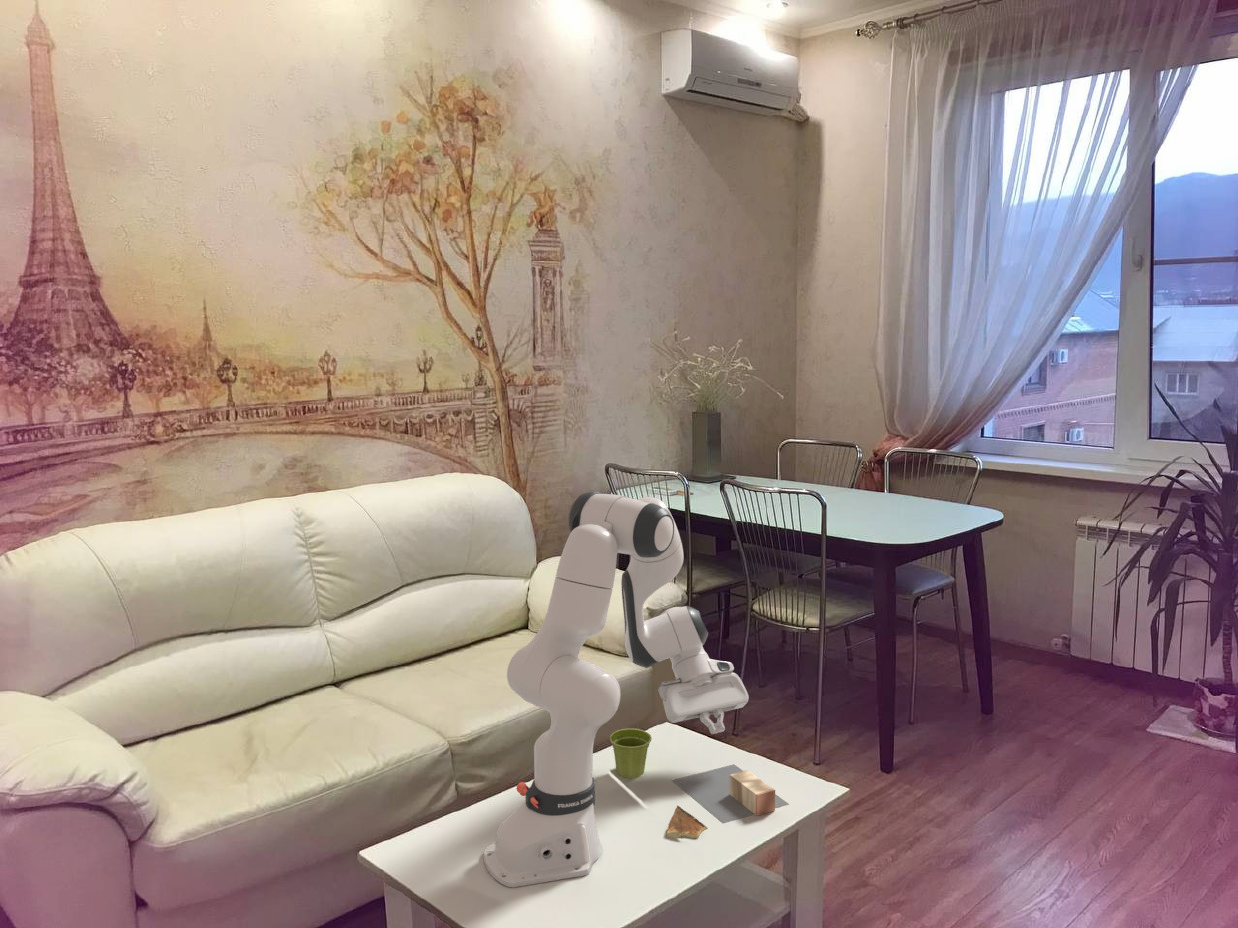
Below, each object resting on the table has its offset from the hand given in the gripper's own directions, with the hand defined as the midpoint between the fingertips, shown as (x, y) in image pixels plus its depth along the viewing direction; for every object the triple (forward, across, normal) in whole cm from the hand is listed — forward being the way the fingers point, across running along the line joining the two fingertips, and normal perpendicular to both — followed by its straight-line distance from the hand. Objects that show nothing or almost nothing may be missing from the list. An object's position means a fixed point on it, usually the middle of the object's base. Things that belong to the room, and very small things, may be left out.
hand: (718, 731), depth 208 cm
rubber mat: (+13, -2, +3) cm, 13 cm away
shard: (+18, -18, -2) cm, 26 cm away
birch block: (+12, 0, 0) cm, 12 cm away
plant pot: (0, -16, +16) cm, 22 cm away
